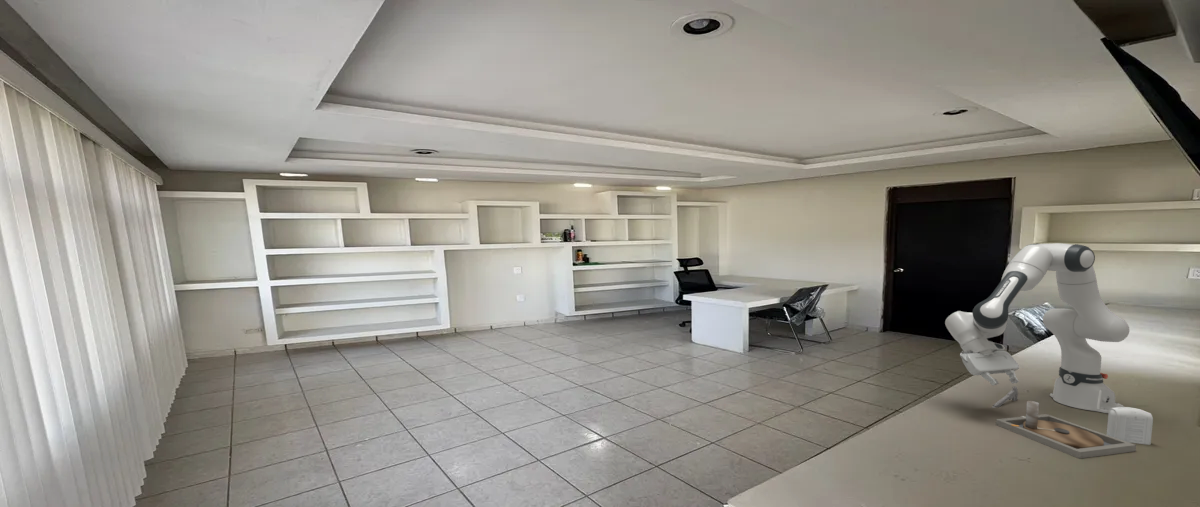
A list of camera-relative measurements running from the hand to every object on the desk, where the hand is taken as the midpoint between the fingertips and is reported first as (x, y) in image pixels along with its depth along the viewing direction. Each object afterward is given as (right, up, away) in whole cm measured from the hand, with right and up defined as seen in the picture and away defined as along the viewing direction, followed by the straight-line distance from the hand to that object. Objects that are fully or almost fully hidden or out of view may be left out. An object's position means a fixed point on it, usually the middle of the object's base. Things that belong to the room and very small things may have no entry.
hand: (1005, 383), depth 161 cm
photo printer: (+30, -17, -12) cm, 37 cm away
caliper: (+19, -15, +21) cm, 32 cm away
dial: (+9, -15, -11) cm, 21 cm away
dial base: (+9, -16, -10) cm, 22 cm away
